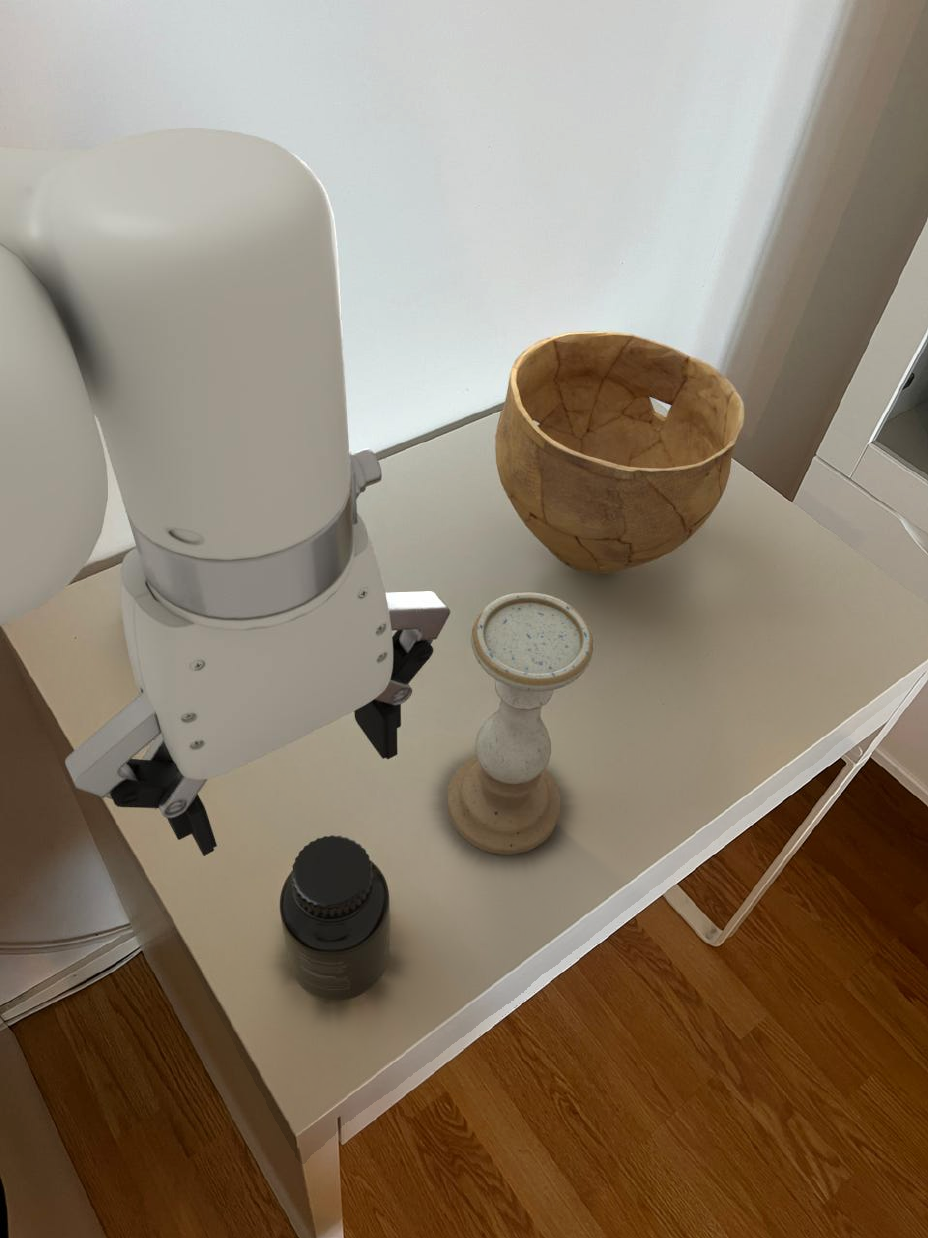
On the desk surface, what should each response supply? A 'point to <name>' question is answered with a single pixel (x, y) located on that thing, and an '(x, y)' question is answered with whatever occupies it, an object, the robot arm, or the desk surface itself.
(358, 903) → the supplement bottle
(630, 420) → the bowl
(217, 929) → the desk surface
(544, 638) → the candle holder
